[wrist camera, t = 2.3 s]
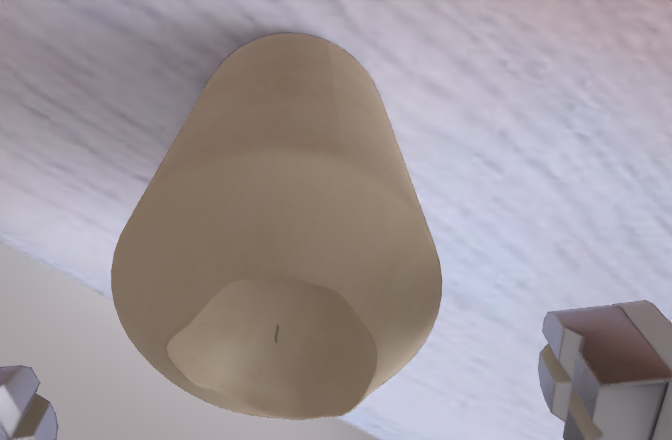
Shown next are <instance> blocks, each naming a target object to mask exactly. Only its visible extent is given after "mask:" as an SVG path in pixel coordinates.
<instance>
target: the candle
mask: <svg viewBox="0 0 672 440" xmlns="http://www.w3.org/2000/svg"><path fill="white" fill-rule="evenodd" d="M111 288H112V294H113V299H114V305H115V308H116V311H117V314H118V317H119V319H120V321H121V324H122V326H123V328H124V330H125V331H126V333H127V335H128V337H129V339H130V340H131V341H132V343H133V344H134V345H135V347H136V348H137V350H138V351H139V352H140V353H141V354H142V355H143V356H144V357H145V358H146V360H148V362H149V363H150V364H151V365H152V366H153V367H154V368H155V369H157V370H158V371H159V372H160V373H161V374H162V375H164V376H165V377H166V378H167V379H169V380H170V381H171V382H172V383H174V384H175V385H177V386H178V387H180V388H181V389H183V390H185V391H186V392H188V393H190V394H192V395H193V396H195V397H197V398H199V399H201V400H203V401H205V402H207V403H210V404H213V405H215V406H218V407H220V408H223V409H227V410H230V411H233V412H237V413H243V414H247V415H252V416H260V417H268V418H270V417H271V418H282V419H291V420H305V419H313V418H320V417H335V416H342V415H344V414H347V413H349V412H351V411H352V410H353V409H354V408H356V407H357V406H358V405H359V404H360V403H361V402H362V401H363V400H364V398H365V397H366V396H368V395H369V394H370V393H371V392H373V391H374V390H375V389H377V388H378V387H380V386H381V385H382V384H384V383H385V382H386V381H388V380H389V379H390V378H391V377H393V376H394V375H395V374H396V373H398V372H399V371H400V370H401V369H402V368H403V367H404V366H405V365H406V364H407V363H408V362H409V361H410V360H411V359H412V358H413V357H414V356H415V355H416V353H417V352H418V351H419V349H420V348H421V347H422V346H423V344H424V343H425V341H426V339H427V337H428V335H429V334H430V332H431V330H432V328H433V325H434V323H435V320H436V317H437V315H438V311H439V306H440V301H441V295H442V275H441V267H440V261H439V258H438V254H437V251H436V247H435V244H434V241H433V239H432V236H431V233H430V230H429V227H428V225H427V222H426V219H425V216H424V214H423V211H422V208H421V205H420V203H419V200H418V197H417V194H416V192H415V189H414V186H413V184H412V181H411V178H410V175H409V173H408V170H407V167H406V164H405V162H404V159H403V156H402V153H401V151H400V148H399V145H398V142H397V140H396V137H395V134H394V131H393V129H392V126H391V123H390V120H389V118H388V115H387V112H386V110H385V107H384V104H383V101H382V99H381V97H380V94H379V92H378V90H377V88H376V86H375V84H374V82H373V80H372V78H371V77H370V75H369V74H368V72H367V71H366V70H365V69H364V67H363V66H362V65H361V64H360V63H359V62H358V61H357V60H356V59H355V58H354V57H353V56H352V55H351V54H349V53H348V52H346V51H345V50H343V49H342V48H340V47H339V46H337V45H335V44H333V43H331V42H329V41H327V40H325V39H322V38H319V37H316V36H312V35H307V34H301V33H281V34H274V35H269V36H265V37H262V38H259V39H256V40H254V41H251V42H249V43H247V44H245V45H244V46H242V47H240V48H239V49H237V50H236V51H234V52H233V53H232V54H230V55H229V56H228V57H227V58H226V59H225V60H224V61H223V62H222V63H221V64H220V66H219V67H218V68H217V69H216V71H215V72H214V73H213V75H212V76H211V78H210V79H209V81H208V83H207V84H206V86H205V88H204V90H203V91H202V93H201V95H200V96H199V98H198V100H197V102H196V103H195V105H194V107H193V109H192V110H191V112H190V114H189V116H188V117H187V119H186V121H185V123H184V124H183V126H182V128H181V129H180V131H179V133H178V135H177V136H176V138H175V140H174V142H173V143H172V145H171V147H170V149H169V150H168V152H167V154H166V156H165V157H164V159H163V161H162V162H161V164H160V166H159V168H158V169H157V171H156V173H155V175H154V176H153V178H152V180H151V182H150V183H149V185H148V187H147V189H146V190H145V192H144V194H143V196H142V197H141V199H140V201H139V202H138V204H137V206H136V208H135V209H134V211H133V213H132V215H131V217H130V218H129V220H128V222H127V224H126V226H125V228H124V229H123V231H122V233H121V235H120V237H119V240H118V243H117V246H116V249H115V252H114V257H113V263H112V269H111Z"/></svg>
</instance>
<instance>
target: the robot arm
mask: <svg viewBox="0 0 672 440" xmlns="http://www.w3.org/2000/svg"><path fill="white" fill-rule="evenodd" d="M542 332H543V334H544V336H545V338H546V339H547V341H548V344H547V345H546V346H545V348H544V349H543V350H542V351H541V352H540V353H539V364H538V372H539V379H540V386H541V389H542V392H543V396H544V399H545V401H546V403H547V405H548V407H549V409H550V412H551V413H552V414H554V415H555V416H557V417H558V418H560V419H561V420H562V421H564V422H565V426H564V433H563V438H564V440H672V324H671V323H670V322H669V321H668V319H667V318H666V317H665V316H664V315H663V314H662V313H661V312H660V311H659V309H658V308H657V307H656V306H655V305H654V304H652V303H650V302H648V301H646V300H644V301H635V302H627V303H619V304H613V305H606V306H596V307H587V308H578V309H569V310H560V311H551V312H547V314H546V316H545V318H544V323H543V329H542ZM39 384H40V381H39V380H38V378H37V376H36V374H35V373H34V371H33V369H32V368H31V367H27V366H22V365H20V366H8V367H0V440H56V439H57V432H58V423H57V417H56V413H55V411H54V408H53V406H52V405H51V402H49V401H48V400H46V399H44V398H43V397H41V396H40V395H38V394H36V392H37V389H38V387H39Z"/></svg>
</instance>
